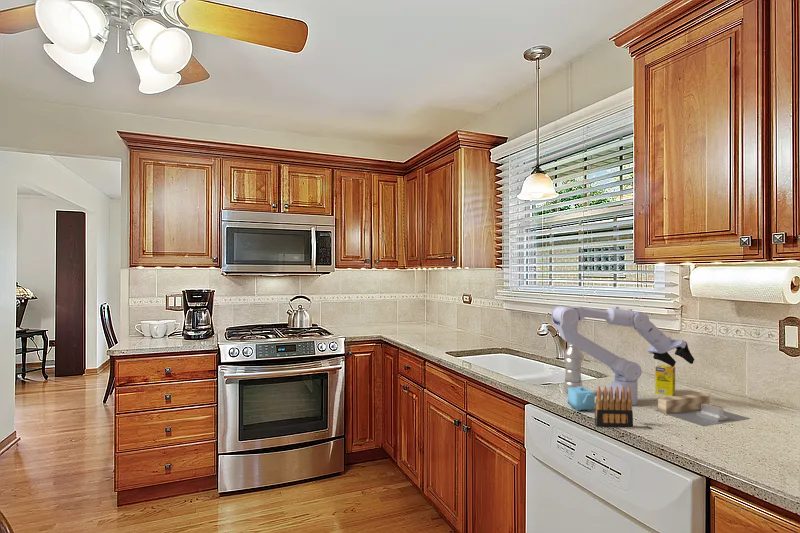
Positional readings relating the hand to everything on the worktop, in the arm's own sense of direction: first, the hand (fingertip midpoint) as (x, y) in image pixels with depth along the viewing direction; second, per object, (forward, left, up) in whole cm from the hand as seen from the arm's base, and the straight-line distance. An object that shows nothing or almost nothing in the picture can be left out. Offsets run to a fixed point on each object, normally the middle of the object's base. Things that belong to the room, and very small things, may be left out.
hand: (683, 363), depth 169 cm
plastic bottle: (-22, +29, -15) cm, 39 cm away
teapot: (-36, +14, -15) cm, 41 cm away
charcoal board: (-10, -10, -14) cm, 20 cm away
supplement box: (+6, +10, -15) cm, 19 cm away
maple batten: (-9, -5, -13) cm, 17 cm away
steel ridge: (-11, -15, -13) cm, 22 cm away
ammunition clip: (-42, -2, -15) cm, 44 cm away
